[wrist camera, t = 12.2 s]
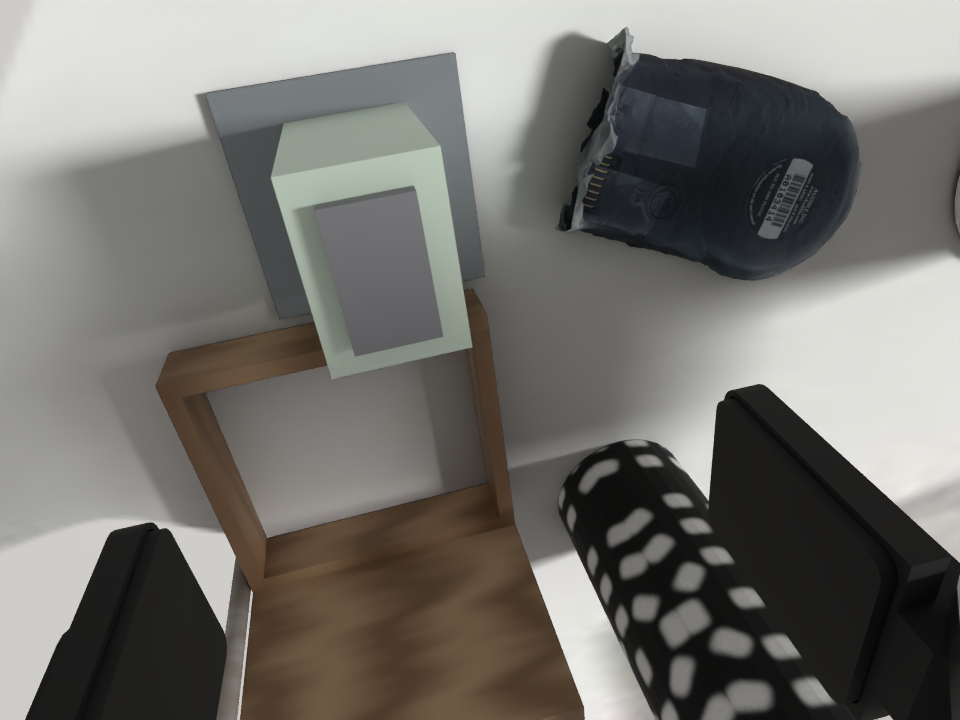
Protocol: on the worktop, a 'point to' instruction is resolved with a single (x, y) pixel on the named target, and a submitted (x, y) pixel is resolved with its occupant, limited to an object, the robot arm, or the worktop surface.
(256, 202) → the mat
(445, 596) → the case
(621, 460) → the white-spotted black cylinder
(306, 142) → the module
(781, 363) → the worktop surface
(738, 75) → the dark blue pouch
